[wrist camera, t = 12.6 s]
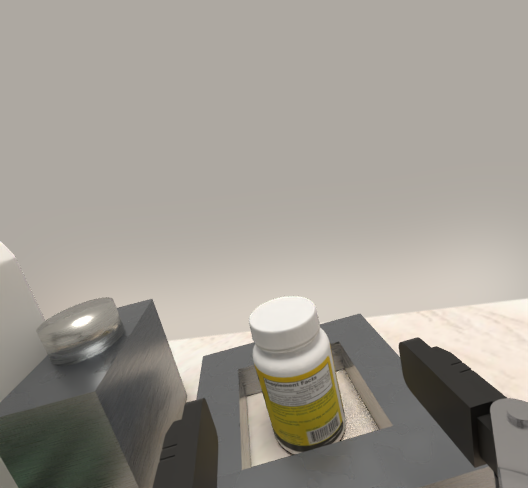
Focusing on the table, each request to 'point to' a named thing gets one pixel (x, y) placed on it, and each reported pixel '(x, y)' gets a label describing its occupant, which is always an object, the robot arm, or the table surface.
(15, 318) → the milk carton
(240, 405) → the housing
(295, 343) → the supplement bottle
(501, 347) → the table surface
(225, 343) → the table surface
